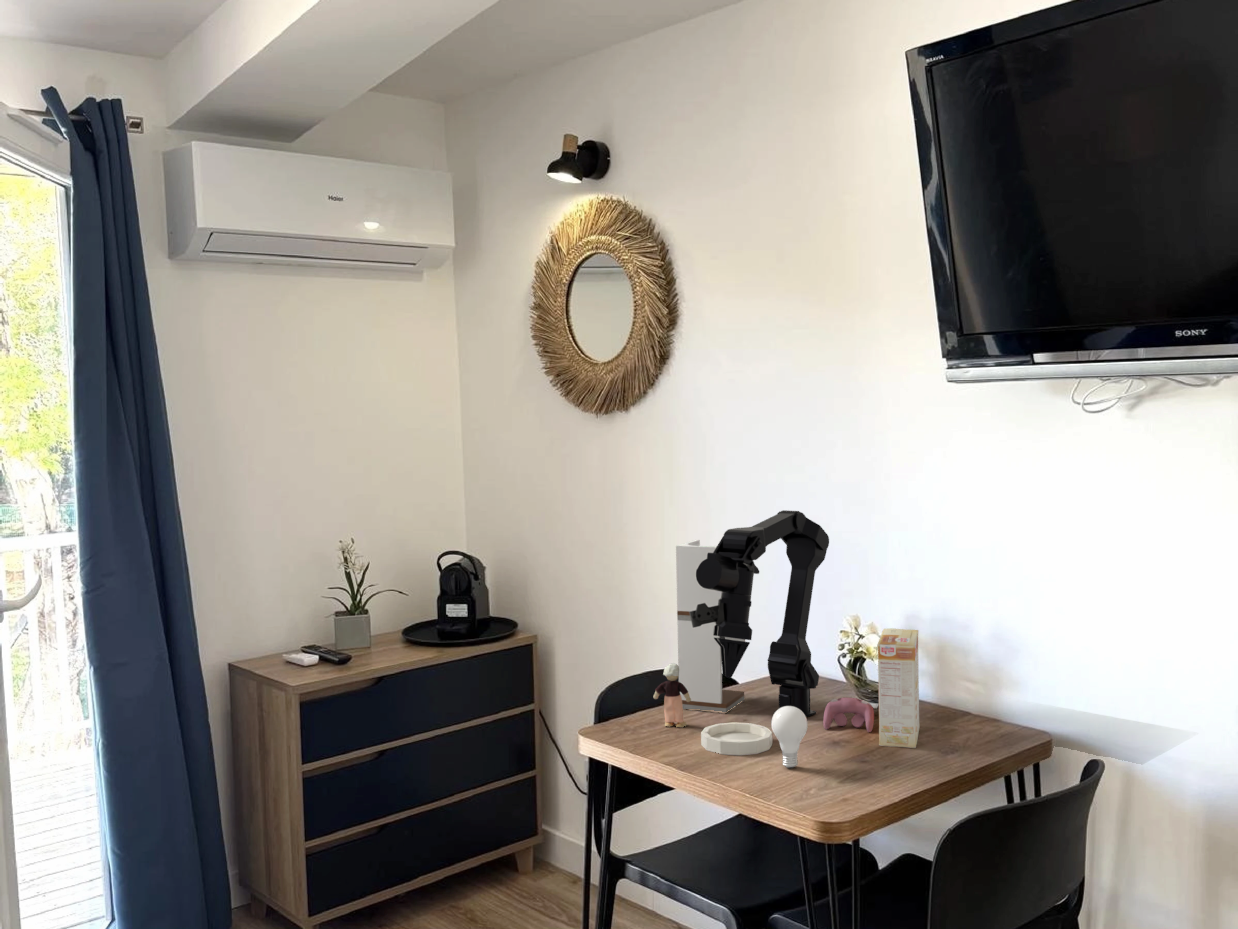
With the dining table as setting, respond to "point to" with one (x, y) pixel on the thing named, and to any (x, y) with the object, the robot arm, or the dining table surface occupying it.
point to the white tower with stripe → (699, 637)
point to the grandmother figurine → (672, 696)
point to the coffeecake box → (898, 688)
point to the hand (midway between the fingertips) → (726, 676)
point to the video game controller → (849, 705)
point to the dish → (736, 738)
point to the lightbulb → (789, 732)
